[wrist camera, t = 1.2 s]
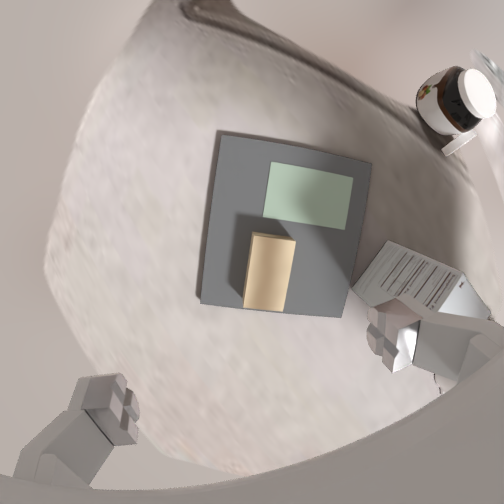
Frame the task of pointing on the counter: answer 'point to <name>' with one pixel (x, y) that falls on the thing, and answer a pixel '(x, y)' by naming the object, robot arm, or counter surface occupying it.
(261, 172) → the rubber mat
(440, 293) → the supplement box
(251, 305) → the maple card box
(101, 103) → the counter surface
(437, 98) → the spread jar
